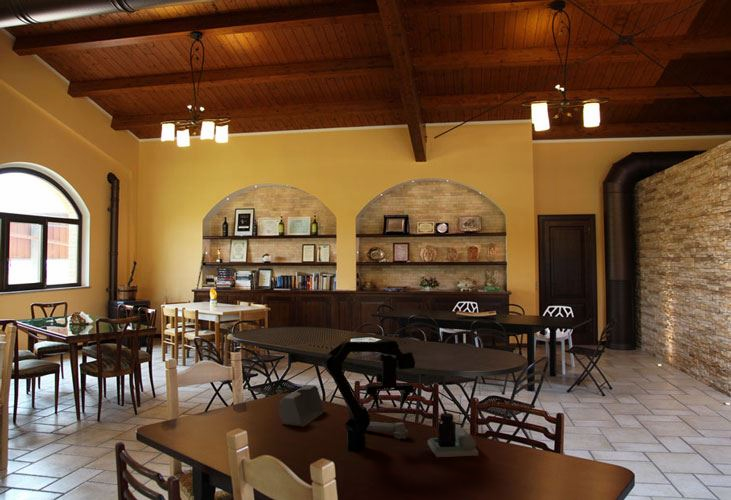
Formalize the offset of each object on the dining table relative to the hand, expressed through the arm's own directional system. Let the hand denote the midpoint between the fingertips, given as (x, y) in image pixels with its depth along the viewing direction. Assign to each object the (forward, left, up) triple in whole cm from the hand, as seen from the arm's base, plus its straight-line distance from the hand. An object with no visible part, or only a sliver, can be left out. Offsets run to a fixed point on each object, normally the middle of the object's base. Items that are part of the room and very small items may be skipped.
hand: (389, 410), depth 207 cm
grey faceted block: (-36, +38, -13) cm, 54 cm away
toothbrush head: (-2, +11, -14) cm, 18 cm away
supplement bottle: (+21, -10, -12) cm, 26 cm away
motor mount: (+23, -10, -13) cm, 28 cm away
